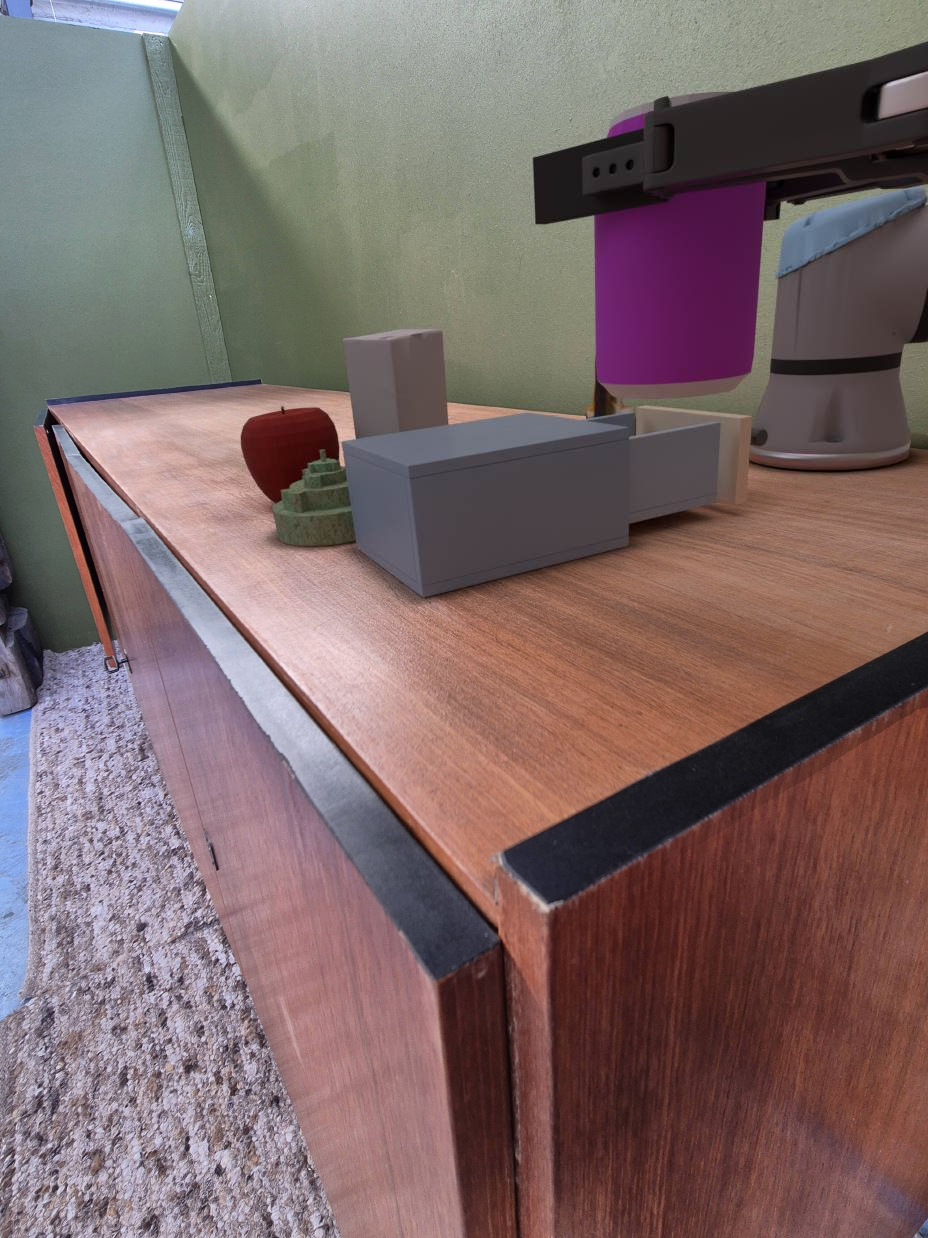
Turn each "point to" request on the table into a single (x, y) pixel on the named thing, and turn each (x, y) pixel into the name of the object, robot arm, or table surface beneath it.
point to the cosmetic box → (396, 381)
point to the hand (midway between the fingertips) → (590, 195)
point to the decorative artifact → (316, 507)
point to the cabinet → (488, 497)
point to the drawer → (685, 458)
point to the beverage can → (677, 286)
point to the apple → (286, 446)
